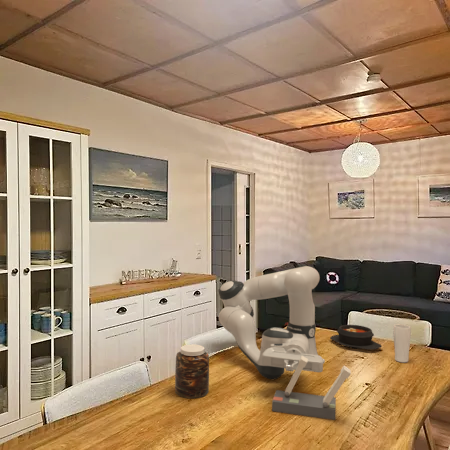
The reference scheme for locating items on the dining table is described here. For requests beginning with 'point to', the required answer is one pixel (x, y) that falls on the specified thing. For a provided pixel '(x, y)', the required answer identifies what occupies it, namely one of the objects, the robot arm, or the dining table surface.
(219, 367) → the dining table surface
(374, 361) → the dining table surface
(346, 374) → the on lever
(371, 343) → the casserole
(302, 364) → the lever
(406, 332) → the drinking glass
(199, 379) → the jar
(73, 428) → the dining table surface
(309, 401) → the panel
